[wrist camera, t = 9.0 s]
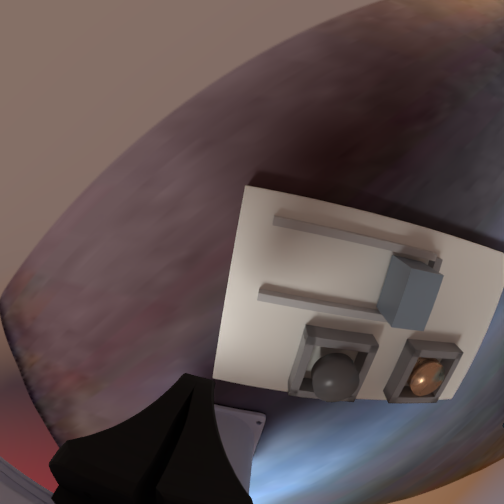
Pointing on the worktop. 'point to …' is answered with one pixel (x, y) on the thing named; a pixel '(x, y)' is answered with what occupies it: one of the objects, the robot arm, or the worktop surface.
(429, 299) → the block
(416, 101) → the worktop surface
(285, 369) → the control panel
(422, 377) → the copper button
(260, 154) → the worktop surface
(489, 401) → the worktop surface
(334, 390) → the black button
